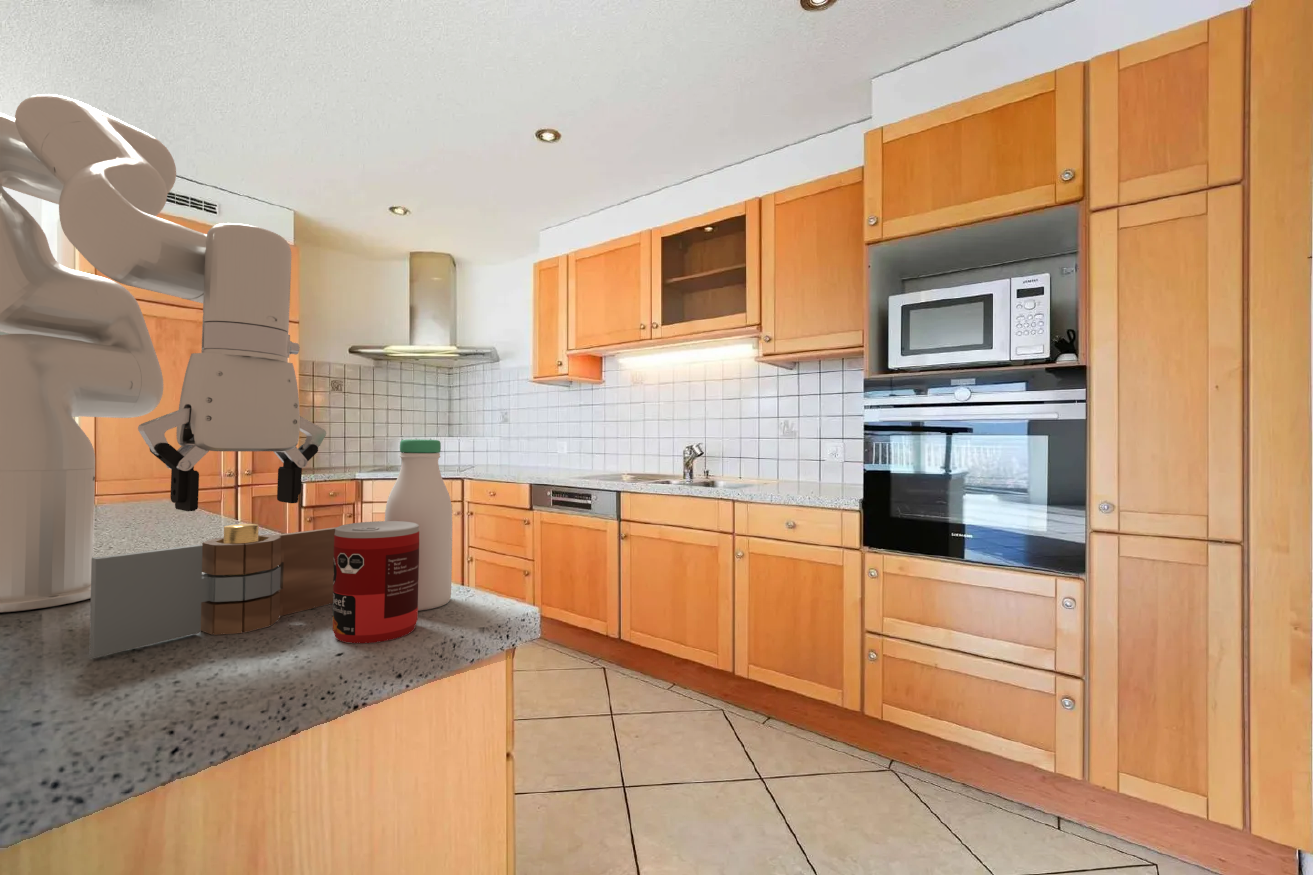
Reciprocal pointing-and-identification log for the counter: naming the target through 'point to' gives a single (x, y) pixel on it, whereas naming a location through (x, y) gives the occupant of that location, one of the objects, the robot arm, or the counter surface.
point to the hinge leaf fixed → (296, 554)
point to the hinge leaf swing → (160, 596)
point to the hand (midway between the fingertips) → (240, 505)
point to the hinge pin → (241, 537)
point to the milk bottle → (425, 517)
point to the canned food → (375, 581)
